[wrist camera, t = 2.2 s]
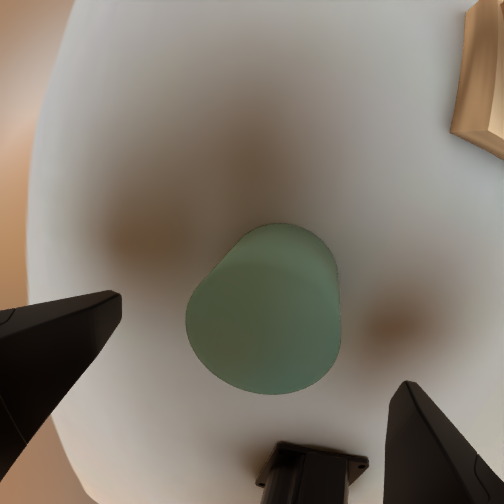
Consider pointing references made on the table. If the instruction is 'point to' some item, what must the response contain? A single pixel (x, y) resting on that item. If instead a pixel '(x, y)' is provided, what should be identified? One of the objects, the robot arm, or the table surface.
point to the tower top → (502, 8)
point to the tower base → (482, 79)
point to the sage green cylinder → (269, 312)
